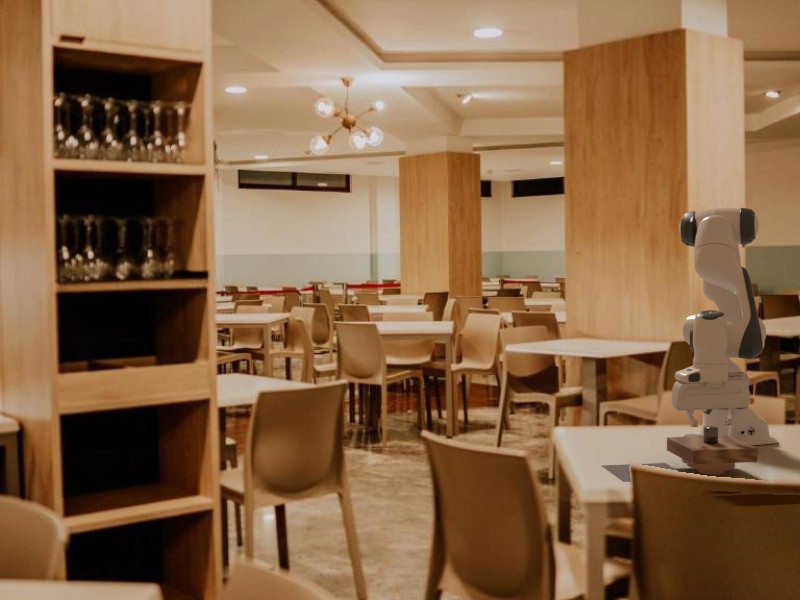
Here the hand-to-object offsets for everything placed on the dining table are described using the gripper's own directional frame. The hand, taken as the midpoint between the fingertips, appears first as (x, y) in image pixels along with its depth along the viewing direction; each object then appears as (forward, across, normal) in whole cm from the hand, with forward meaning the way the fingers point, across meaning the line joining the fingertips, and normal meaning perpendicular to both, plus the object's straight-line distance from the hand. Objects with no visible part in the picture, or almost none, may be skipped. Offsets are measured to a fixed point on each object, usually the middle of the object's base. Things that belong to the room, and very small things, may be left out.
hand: (711, 425), depth 243 cm
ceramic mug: (+13, -2, -13) cm, 18 cm away
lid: (+8, 0, 0) cm, 8 cm away
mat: (+12, +17, -2) cm, 21 cm away
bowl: (+12, 0, 0) cm, 12 cm away
